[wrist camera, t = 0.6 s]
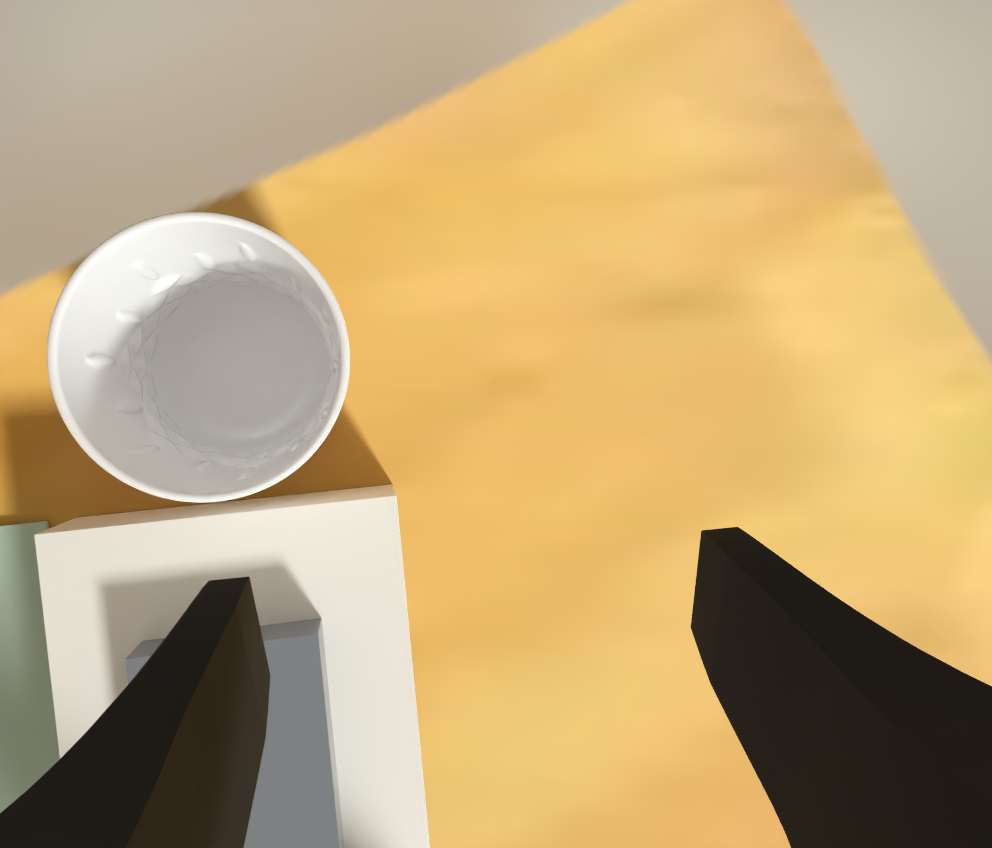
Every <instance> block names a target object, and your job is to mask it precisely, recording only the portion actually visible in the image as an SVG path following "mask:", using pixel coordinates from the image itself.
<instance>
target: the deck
mask: <svg viewBox="0 0 992 848" xmlns="http://www.w3.org/2000/svg"><path fill="white" fill-rule="evenodd" d="M34 537H35V545H36V554H37V563H38V571H39V580H40V589H41V598H42V606H43V615H44V624H45V633H46V641H47V650H48V659H49V667H50V676H51V685H52V694H53V702H54V711H55V720H56V729H57V737H58V746H59V755H60V758H61V757H62V756H63V755H64V754H65V753H66V752H67V751H68V750H69V749H70V748H71V747H72V746H73V745H74V744H75V743H76V742H77V741H78V740H79V739H80V738H81V737H82V736H83V735H84V734H85V733H86V732H87V730H88V729H89V728H90V727H91V726H92V725H93V724H94V723H95V722H96V720H97V719H98V718H99V717H100V716H101V715H102V714H103V713H104V711H105V710H106V709H107V708H108V707H109V706H110V705H111V703H112V702H113V701H114V700H115V699H116V698H117V697H118V696H119V694H120V693H121V692H122V691H123V690H124V689H125V688H126V686H127V685H128V683H127V674H126V664H125V659H126V658H127V657H128V655H129V654H130V653H131V652H132V651H133V650H134V649H135V648H136V647H137V646H138V645H139V644H140V643H141V642H142V641H146V640H153V639H161V638H165V637H166V636H167V635H168V634H169V632H170V631H171V630H172V628H173V627H174V626H175V624H176V623H177V622H178V620H179V619H180V618H181V616H182V615H183V613H184V612H185V611H186V609H187V608H188V607H189V605H190V604H191V603H192V601H193V600H194V598H195V597H196V596H197V594H198V593H199V592H200V590H201V589H202V588H203V587H204V585H205V584H206V583H207V582H208V581H210V580H219V579H229V578H239V577H250V582H251V586H252V591H253V596H254V600H255V605H256V610H257V614H258V619H259V624H260V626H262V625H270V624H278V623H286V622H294V621H301V620H309V619H317V618H322V628H323V638H324V648H325V658H326V668H327V678H328V688H329V698H330V708H331V718H332V728H333V738H334V748H335V758H336V768H337V778H338V788H339V798H340V808H341V818H342V828H343V839H344V848H430V843H429V833H428V822H427V812H426V801H425V791H424V780H423V770H422V759H421V749H420V738H419V728H418V717H417V707H416V696H415V685H414V675H413V664H412V654H411V643H410V633H409V622H408V612H407V601H406V591H405V580H404V570H403V559H402V549H401V538H400V528H399V517H398V507H397V496H396V493H395V489H394V486H393V484H390V485H381V486H371V487H362V488H352V489H343V490H333V491H324V492H314V493H305V494H295V495H286V496H276V497H267V498H257V499H248V500H239V501H229V502H220V503H210V504H201V505H191V506H182V507H172V508H163V509H153V510H144V511H134V512H125V513H115V514H106V515H96V516H87V517H77V518H74V519H72V520H69V521H67V522H64V523H62V524H59V525H57V526H54V527H52V528H49V529H47V530H45V531H42V532H40V533H37V534H35V535H34Z"/></svg>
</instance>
